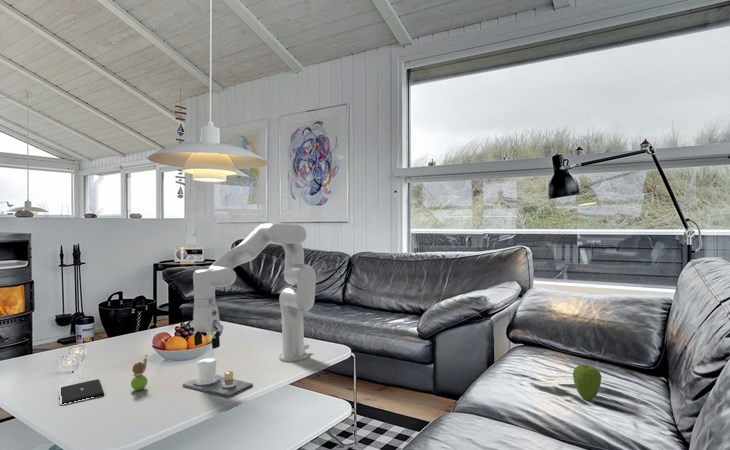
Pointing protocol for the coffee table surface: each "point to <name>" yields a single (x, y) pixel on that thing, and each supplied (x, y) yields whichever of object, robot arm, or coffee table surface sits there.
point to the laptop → (81, 391)
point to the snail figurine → (139, 375)
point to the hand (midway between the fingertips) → (207, 346)
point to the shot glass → (207, 369)
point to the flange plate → (219, 385)
